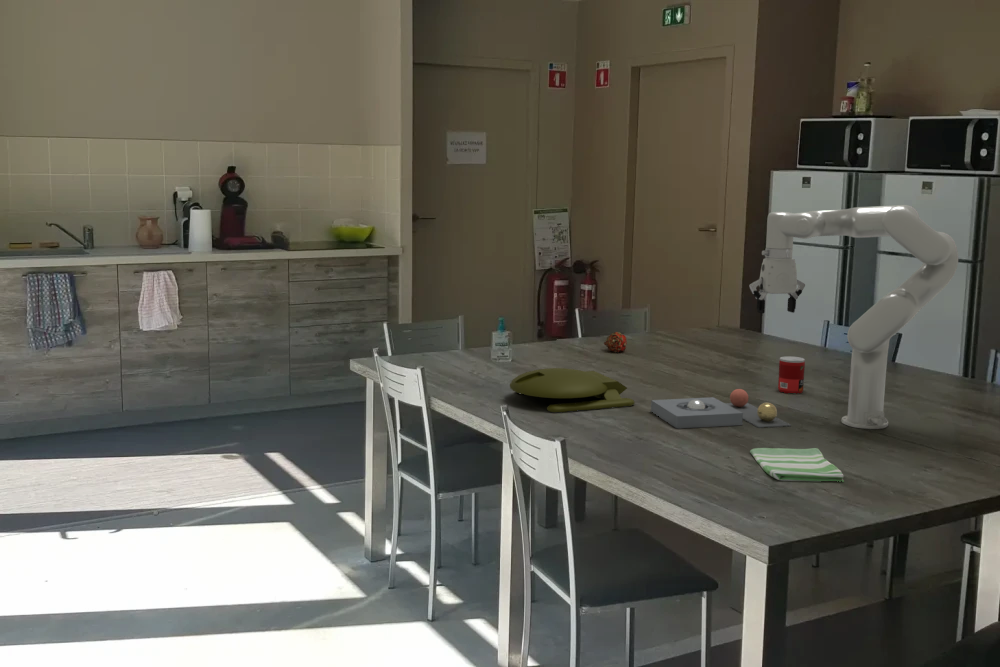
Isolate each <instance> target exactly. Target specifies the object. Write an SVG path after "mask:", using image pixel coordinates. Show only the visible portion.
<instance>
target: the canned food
mask: <svg viewBox="0 0 1000 667" xmlns="http://www.w3.org/2000/svg"><path fill="white" fill-rule="evenodd" d="M805 367H806V359H805V358H803V357H798V356H780V357H779V362H778V383H777V384H778V385H777V390H778V392H780V393H782V392H784V393H783V394H788V393H796V394H795V395H798V394H797V393H799V394H802V393H803V392H804V384H805V383H804V382H805Z"/></svg>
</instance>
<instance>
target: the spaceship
mask: <svg viewBox="0 0 1000 667" xmlns="http://www.w3.org/2000/svg"><path fill="white" fill-rule="evenodd" d="M509 388H510V390H512V391H513V392H514V393H516V392H517V393H521V394H520V395H522V394H524V395H525V396H531V397H536V398H538V397H539V398H546V399H547V398H548V399H578V398H579V399H581V398H588V397H595V398H597V399H598V400H597V399H596V400H587V401H575V402H573V401H572V402H563V403H561V402H560V403H552V404H549V405H547V407H546V410H547V411H548V412H549V411H550V412H549V413H551V412H562V413H568V412H567V411H573V412H578V411H577V410H584V411H593V410H592V409H595V410H603V409H602V408H607V409H613V408H612V407H618V408H624V407H623V406H629V407H633V406H634V405H635V402H636V401H635V400H633V399H632V398H629V397H621V394H622V393H624V392H625V391H626V390H627V389H628V387H627V386H625V385H624V384H622V383H621V382H619V381H618V380H616V379H614V378H611V377H609V376H606V375H604V374H601V373H599V372H598V371H595V370H586V371H585V370H580V369H576V368H575V369H573V368H565V367H552V368H551V367H549V368H548V367H547V368H540V369H534V370H528V371H526V372H524V373H521V374H519V375H518V376H517V375H516V376H515V377H514V378H513V379H512V380H511V382H510V384H509ZM517 393H516V394H517ZM632 405H633V406H632Z"/></svg>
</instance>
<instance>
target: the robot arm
mask: <svg viewBox="0 0 1000 667" xmlns="http://www.w3.org/2000/svg"><path fill="white" fill-rule="evenodd" d="M766 220H767V222H766V242H765V243H766V245H765V250H762V251H761V255H762V256H764V258H763V260H762V263H761V267H760V274H759V278H758V279H757V280H755V281H753V282H752V283H750V284H749V289H750V292H751V294H752V295H753V296H754V297H755V299H756V310H757V313H760V314H764V313H765V310H766V309H765V308H766V300H765V298H766V296H767V295H768V294H770V295H773V294H774V295H775V294H776V295H778V294H779V295H780V294H781V295H782V294H784V295H785V294H786V295H788V298H787V310H786V311H788V312H789V313H792V314H794V313H795V311H796V309H797V308H796V307H797V300H798V298H799V297H800V295H801V294H802V292H803V290H804V288H805V287H806V284H805V282H802V281H801V280H799V279H798V276H797V264H796V260H795V259H794V258H793V251H794V250H793V247H794V238H798V239H805V240H806V239H810V238H811V239H812V238H815V237H817V238H818V237H830V236H831V237H832V236H834V237H835V236H836V237H837V236H841V237H842V236H843V237H844V236H847V237H851V238H858V239H861V238H878V237H879V238H881V237H882V238H883V237H890V238H891V239H893V240H894V241H895V242H896V243H897V244H899V245H900V246H901V247H902V248H903V249H905V250H906V251H908V253H910V254H911V255H912V256H913V257H915V258H916V259H917V260H918V261H920V262H921V263H922V264H921V266H920V267H919V268H918V269H916V270H915V271H914V272H913V273H912V274H911V275H910V276H909V277H908V278H907V279H906V280H904V281H903V282H902V283H900V285H899V286H898V287H896V288H895V289H892V290H891V291H888V293H886V294H884V295H883V297H881V298H880V299H879V300H877V301H876V302H875V303H874V305H873V304H872V306H871V307H870V308H869V309H867V310H866V312H864V313H863V314H862V315H861V316H859V317H858V319H856V320H855V321H853V322H852V324H850V326H849V328H848V331H847V342H848V344H849V346H850V347H851V348H852V350H851V351H852V352H851V361H850V372H849V373H850V374H849V389H848V403H847V404H848V405H847V415H844V416H842V417H841V423H842V424H843V425H845V426H848V427H852V428H856V429H863V430H864V429H865V430H878V429H879V430H881V429H885V428H888V426H889V421H888V419H887V418H886V417H885V412H884V403H885V392H886V390H885V389H886V379H887V378H886V376H887V366H888V365H887V364H888V355H889V349H890V348H889V347H890V340H891V338H892V337H893V336H896V334H897V333H898V332H900V331H901V330H902V329H903V328H904V327H905V326H906V325H907V324H908V323H910V322H911V321H912V320H913V319H914V317H916V315H917V314H918V312H920V310H922V309H924V307H925V306H926V305H927V304H929V303H930V302H931V301H932V300H933V299H934V298H935V297H936V296H938V294H940V293H941V292H942V291H943V290H944V289H945V288H946V287H947V286H948V284H950V282H951V280H952V279H953V278H954V276H955V274H956V271H957V269H958V264H959V251H958V247H957V244H956V242H955V240H954V238H953V237H952V236H951V235H950V234H948V233H946V232H943V231H936V230H935V229H934V228H932V227H931V226H930V225H929V224H927V223H926V222H925V221H924V220H923V219H922V218H920V215H919V212H918V211H917V209H915V207H913V206H911V205H908V204H898V205H897V204H894V205H878V206H875V205H873V206H857V207H850V208H844V209H830V210H827V209H826V210H810V211H809V210H808V211H804V212H797V213H796V212H795V213H794V212H793V213H792V212H791V211H772V212H769V213H768V215H767V218H766ZM757 288H758V289H759V291H758V290H757Z"/></svg>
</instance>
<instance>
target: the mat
mask: <svg viewBox="0 0 1000 667" xmlns="http://www.w3.org/2000/svg"><path fill="white" fill-rule="evenodd" d="M724 403H725V404H727V405H729V406H731V407H733V408H735V409H736V410H738V411H740V412H742V413H743V420H744V421H745V422H747V423H749V424H750V425H753V426H754V427H756V428H758V429H763V428H764V427H768V428H781V427H783V426H786V427H792V424H790V423H789V422H786V421H785V420H783V419H780V418H779V417H777V416H776V417H775V419H774V420H772V421H769V422H765V421H763V420H761V419H760V418H759V417H758V414H757V410H758V407H757V406H754V405H753V404H751V403H749V402H747V404H746V405H744V406H742V407H736V406H734V405H733V404H732V403H731V402H729V403H728V402H724ZM764 429H765V428H764Z"/></svg>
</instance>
